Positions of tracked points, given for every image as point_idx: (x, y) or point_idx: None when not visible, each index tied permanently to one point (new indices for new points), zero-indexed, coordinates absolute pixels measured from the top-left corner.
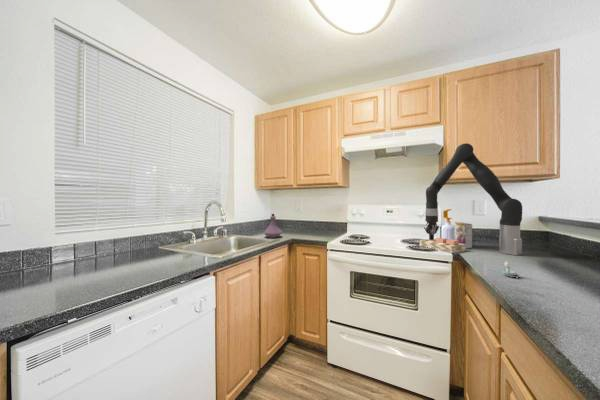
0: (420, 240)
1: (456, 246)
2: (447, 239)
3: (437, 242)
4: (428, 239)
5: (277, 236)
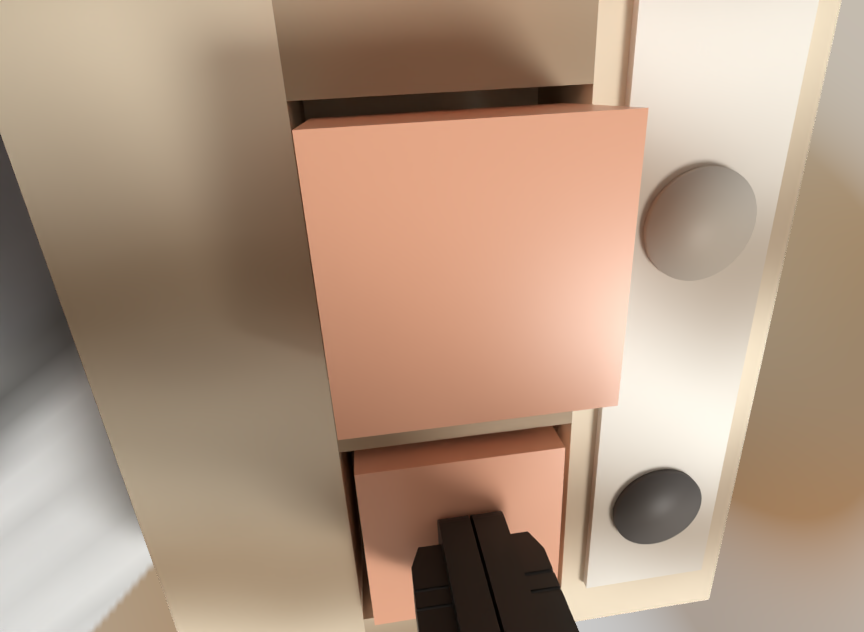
0: (710, 579)
1: None
2: None
3: (712, 195)
4: None
5: None
